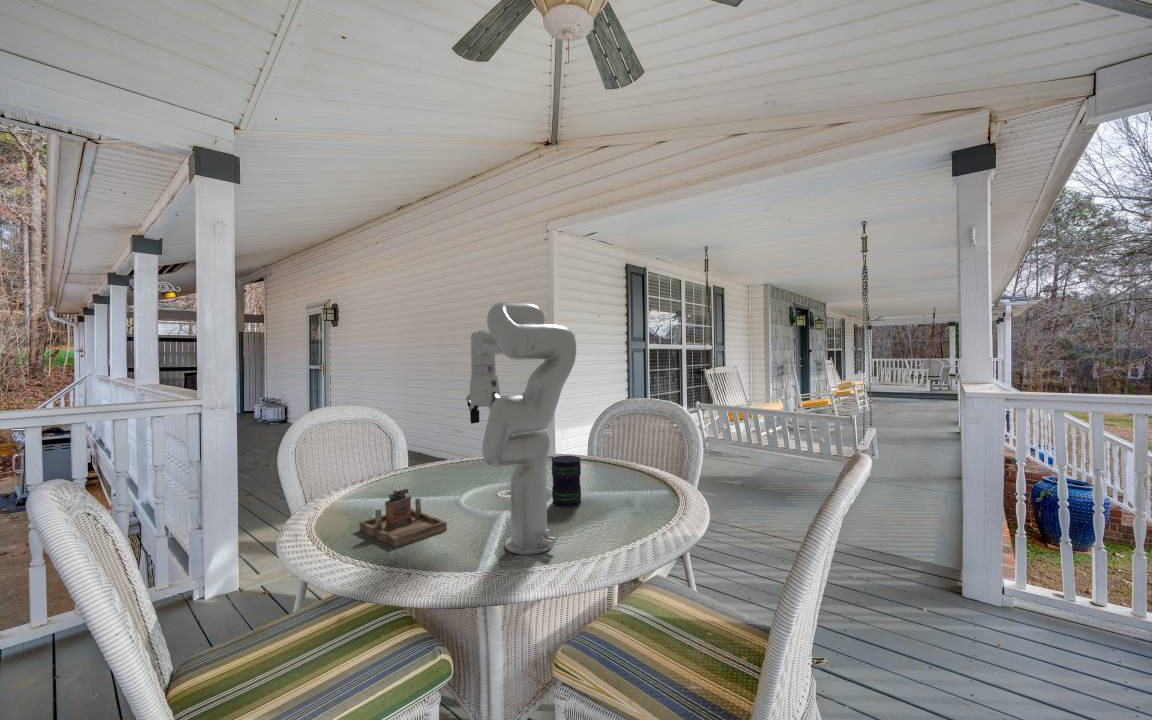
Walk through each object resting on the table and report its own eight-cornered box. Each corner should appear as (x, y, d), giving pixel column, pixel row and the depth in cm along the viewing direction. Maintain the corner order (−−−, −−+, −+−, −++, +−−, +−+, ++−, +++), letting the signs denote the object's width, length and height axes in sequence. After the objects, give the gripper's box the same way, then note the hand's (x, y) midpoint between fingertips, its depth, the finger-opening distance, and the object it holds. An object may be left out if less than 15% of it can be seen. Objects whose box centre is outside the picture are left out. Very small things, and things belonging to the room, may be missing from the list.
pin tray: (446, 530, 141) (446, 505, 141) (395, 547, 129) (394, 520, 129) (409, 515, 154) (409, 492, 154) (359, 530, 142) (359, 505, 142)
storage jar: (547, 500, 167) (547, 457, 167) (573, 496, 171) (573, 454, 171) (559, 509, 158) (558, 463, 158) (586, 504, 162) (585, 460, 162)
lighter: (389, 529, 139) (388, 494, 139) (383, 527, 141) (382, 492, 141) (414, 521, 145) (413, 488, 145) (407, 519, 147) (406, 486, 147)
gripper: (510, 370, 152) (511, 425, 153) (475, 369, 163) (476, 420, 164) (491, 371, 147) (493, 428, 147) (457, 370, 158) (458, 423, 158)
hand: (484, 424), depth 155 cm, fingers open, 9 cm apart
